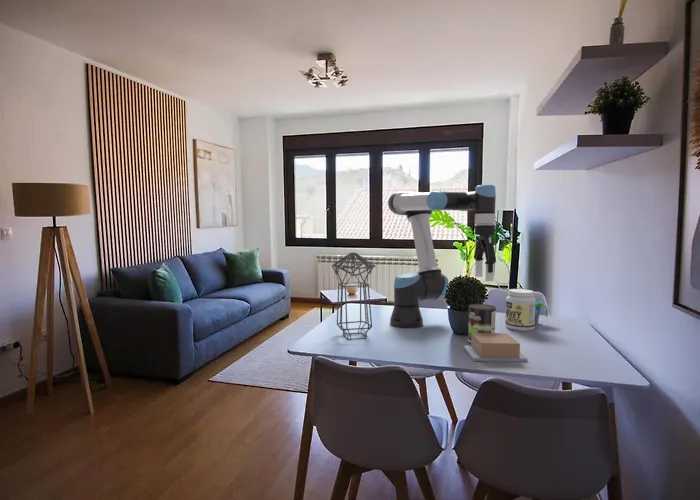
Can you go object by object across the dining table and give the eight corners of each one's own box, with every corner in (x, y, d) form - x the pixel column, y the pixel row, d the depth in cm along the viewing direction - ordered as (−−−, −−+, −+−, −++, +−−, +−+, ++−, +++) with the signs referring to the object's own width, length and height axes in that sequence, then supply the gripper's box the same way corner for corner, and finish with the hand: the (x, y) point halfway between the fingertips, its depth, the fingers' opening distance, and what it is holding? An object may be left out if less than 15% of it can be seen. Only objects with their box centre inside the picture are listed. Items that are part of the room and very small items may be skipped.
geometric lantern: (340, 343, 158) (338, 253, 156) (332, 333, 173) (330, 252, 172) (378, 339, 161) (377, 252, 160) (367, 330, 177) (366, 251, 175)
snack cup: (508, 322, 190) (509, 301, 190) (514, 318, 199) (514, 298, 198) (545, 327, 181) (545, 305, 181) (549, 322, 190) (549, 301, 189)
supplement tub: (499, 327, 182) (500, 290, 181) (514, 323, 189) (515, 287, 188) (525, 333, 172) (526, 293, 171) (540, 328, 179) (541, 291, 178)
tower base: (473, 360, 137) (474, 343, 137) (463, 348, 151) (464, 332, 151) (527, 361, 136) (528, 344, 136) (512, 348, 150) (513, 332, 150)
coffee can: (480, 346, 153) (481, 310, 152) (462, 339, 162) (463, 305, 161) (501, 343, 157) (501, 307, 156) (482, 336, 167) (482, 303, 166)
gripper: (505, 224, 145) (504, 283, 147) (484, 224, 170) (483, 274, 171) (484, 224, 145) (483, 283, 147) (466, 224, 170) (466, 274, 172)
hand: (483, 278), depth 159 cm, fingers open, 13 cm apart
